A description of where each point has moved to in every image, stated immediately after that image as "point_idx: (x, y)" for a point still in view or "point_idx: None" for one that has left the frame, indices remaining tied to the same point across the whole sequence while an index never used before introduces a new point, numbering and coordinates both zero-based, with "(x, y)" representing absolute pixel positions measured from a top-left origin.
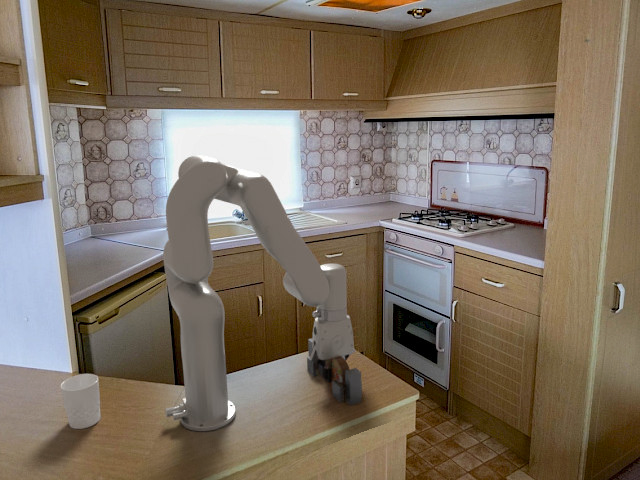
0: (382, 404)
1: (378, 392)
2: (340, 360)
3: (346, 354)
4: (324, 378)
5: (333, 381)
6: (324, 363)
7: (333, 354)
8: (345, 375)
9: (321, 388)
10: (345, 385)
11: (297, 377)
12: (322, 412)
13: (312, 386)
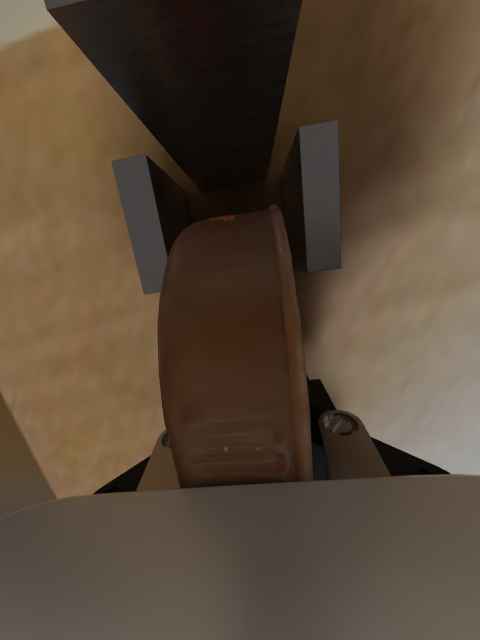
0: (71, 44)
1: (63, 199)
2: (238, 393)
3: (98, 496)
4: (319, 384)
5: (337, 252)
6: (376, 461)
7: (350, 550)
8: (293, 31)
9: (332, 348)
10: (276, 128)
11: None
12: (452, 90)
13: (364, 380)
